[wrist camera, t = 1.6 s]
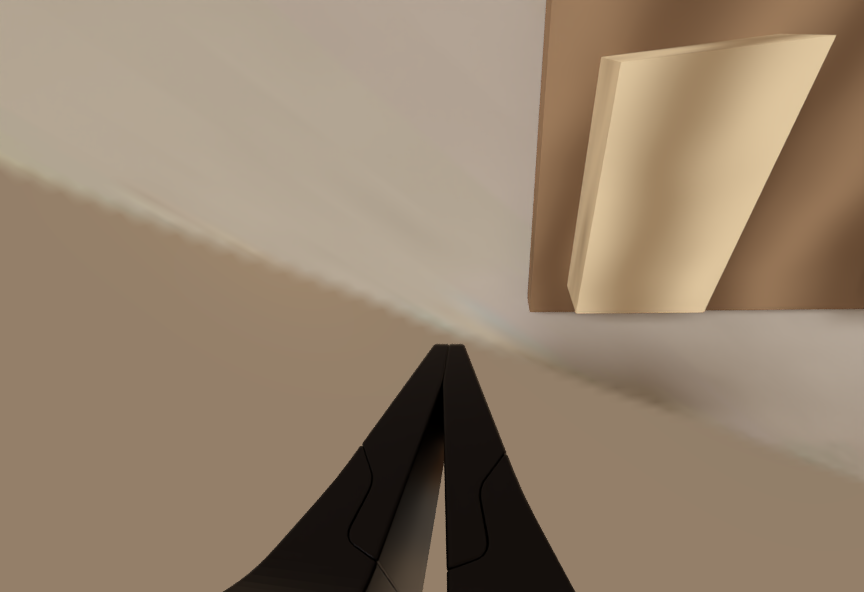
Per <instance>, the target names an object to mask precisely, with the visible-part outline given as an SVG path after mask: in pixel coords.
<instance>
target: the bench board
mask: <svg viewBox="0 0 864 592" xmlns="http://www.w3.org/2000/svg"><path fill="white" fill-rule="evenodd" d="M775 34H811V35H836V37H835V39H834V41H833V43H832V45H831V47H830V49H829V52H828V54H827V56H826V58H825V60H824V62H823V64H822V66H821V68H820V70H819V72H818V75H817V77H816V79H815V81H814V83H813V85H812V87H811V89H810V91H809V93H808V95H807V98H806V100H805V102H804V104H803V106H802V108H801V110H800V112H799V114H798V116H797V118H796V121H795V123H794V125H793V127H792V129H791V131H790V133H789V135H788V137H787V139H786V141H785V144H784V146H783V148H782V150H781V152H780V154H779V156H778V158H777V160H776V162H775V164H774V167H773V169H772V171H771V173H770V175H769V177H768V179H767V181H766V183H765V185H764V187H763V190H762V192H761V194H760V196H759V198H758V200H757V202H756V204H755V206H754V208H753V210H752V213H751V215H750V217H749V219H748V221H747V223H746V225H745V227H744V229H743V231H742V233H741V236H740V238H739V240H738V242H737V244H736V246H735V248H734V250H733V252H732V254H731V256H730V259H729V261H728V263H727V265H726V267H725V269H724V271H723V273H722V275H721V277H720V279H719V282H718V284H717V286H716V288H715V290H714V292H713V294H712V296H711V298H710V300H709V302H708V305H707V307H706V309H705V310H768V309H864V0H546V15H545V31H544V47H543V62H542V78H541V94H540V110H539V125H538V141H537V157H536V172H535V188H534V204H533V219H532V235H531V251H530V267H529V282H528V303H529V310H530V312H571V311H575V309H574V306H573V303H572V300H571V296H570V293H569V290H568V287H567V283H568V276H569V269H570V263H571V256H572V249H573V243H574V236H575V229H576V222H577V216H578V209H579V202H580V196H581V189H582V182H583V176H584V169H585V162H586V155H587V149H588V142H589V135H590V129H591V122H592V115H593V108H594V102H595V95H596V88H597V82H598V75H599V68H600V62H601V57H606V56H613V55H621V54H629V53H636V52H644V51H652V50H660V49H667V48H675V47H683V46H690V45H698V44H706V43H714V42H721V41H729V40H737V39H744V38H752V37H760V36H768V35H775Z"/></svg>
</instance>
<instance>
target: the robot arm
mask: <svg viewBox="0 0 864 592" xmlns="http://www.w3.org/2000/svg"><path fill="white" fill-rule="evenodd" d="M362 445H363V446H360V447H359V449H358V450H357V451H356V453H355V454H354V456H353V457H352V458H351V460H350V461H349V462H348V464H347V465H346V466H345V467H344V469H343V470H342V471H341V473H340V474H339V476H338V477H337V478H336V479H335V480H334V481H333V483H332V484H331V485H330V486H329V488H327V490H326V491H325V492H324V493H323V494H322V495H321V497H320V498H319V499H318V500H317V501H316V503H315V504H314V505H313V506H312V507H311V508H310V509H309V510H308V511H307V513H306V514H305V515H304V516H303V517H302V518H301V519H300V520H299V522H298V523H297V524H296V525H295V526H294V527H293V528H292V529H291V531H290V532H289V533H288V534H287V535H286V536H285V537H284V538H283V540H282V541H281V542H280V543H279V544H278V545H277V546H276V547H275V549H274V550H273V551H272V552H271V553H270V554H269V555H268V556H267V557H266V558H265V559H264V560H263V561H262V562H261V563H260V564H259V565H258V566H257V567H256V568H255V569H253V570H252V571H251V572H250V573H249V574H248V575H246V576H245V577H244V578H242V579H241V580H240V581H238V582H237V583H235V584H234V585H233V586H231V587H230V588H228V589H226V590H225V591H223V592H422V590H423V583H424V578H425V572H426V566H427V560H428V554H429V549H430V542H431V537H432V531H433V524H434V519H435V513H436V507H437V500H438V495H439V489H440V483H441V477H442V471H443V465H444V471H445V472H444V473H445V514H446V554H447V555H446V556H447V557H446V558H447V570H448V572H447V592H575V590H574V589H573V587H572V585H571V583H570V581H569V579H568V578H567V576H566V574H565V572H564V570H563V568H562V566H561V565H560V563H559V561H558V559H557V557H556V555H555V553H554V552H553V550H552V548H551V546H550V544H549V542H548V540H547V538H546V537H545V535H544V533H543V531H542V529H541V527H540V525H539V524H538V522H537V520H536V518H535V516H534V514H533V512H532V510H531V508H530V506H529V504H528V502H527V500H526V498H525V496H524V494H523V491H522V489H521V487H520V485H519V482H518V480H517V477H516V475H515V473H514V471H513V468H512V465H511V463H510V460H509V458H508V456H507V455H506V451H505V448H504V445H503V443H502V440H501V438H500V435H499V433H498V430H497V427H496V425H495V423H494V420H493V418H492V415H491V412H490V410H489V407H488V404H487V402H486V399H485V397H484V394H483V392H482V389H481V387H480V384H479V381H478V379H477V377H476V374H475V371H474V369H473V366H472V364H471V361H470V359H469V356H468V354H467V351H466V348H465V346H464V345H463V344H450V345H448V344H435V345H434V346H433V347H432V348H431V350H430V351H429V353H428V354H427V355H426V357H425V358H424V359H423V361H422V362H421V364H420V365H419V366H418V368H417V369H416V370H415V372H414V373H413V375H412V376H411V378H410V379H409V380H408V381H407V383H406V384H405V386H404V387H403V388H402V390H401V391H400V392H399V394H398V395H397V397H396V398H395V399H394V401H393V402H392V404H391V405H390V406H389V408H388V409H387V410H386V412H385V413H384V415H383V416H382V417H381V419H380V420H379V421H378V423H377V424H376V425H375V427H374V428H373V430H372V431H371V432H370V434H369V435H368V436H367V438H366V439H365V441H364V442H363V444H362Z"/></svg>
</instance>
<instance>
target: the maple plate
mask: <svg viewBox="0 0 864 592" xmlns="http://www.w3.org/2000/svg"><path fill="white" fill-rule="evenodd" d="M835 37H836V35H811V34H775V35H768V36H760V37H752V38H744V39H737V40H729V41H721V42H714V43H706V44H698V45H690V46H683V47H675V48H667V49H660V50H652V51H644V52H636V53H629V54H621V55H613V56H606V57H601V62H600V68H599V75H598V82H597V88H596V95H595V102H594V108H593V115H592V122H591V129H590V135H589V142H588V149H587V155H586V162H585V169H584V176H583V182H582V189H581V196H580V202H579V209H578V216H577V222H576V229H575V236H574V243H573V249H572V256H571V263H570V269H569V276H568V283H567V287H568V290H569V293H570V296H571V300H572V303H573V306H574V309H575V312H576V314H585V313H695V312H704V311H705V309H706V307H707V305H708V302H709V300H710V298H711V296H712V294H713V292H714V290H715V288H716V286H717V284H718V282H719V279H720V277H721V275H722V273H723V271H724V269H725V267H726V265H727V263H728V261H729V259H730V256H731V254H732V252H733V250H734V248H735V246H736V244H737V242H738V240H739V238H740V236H741V233H742V231H743V229H744V227H745V225H746V223H747V221H748V219H749V217H750V215H751V213H752V210H753V208H754V206H755V204H756V202H757V200H758V198H759V196H760V194H761V192H762V190H763V187H764V185H765V183H766V181H767V179H768V177H769V175H770V173H771V171H772V169H773V167H774V164H775V162H776V160H777V158H778V156H779V154H780V152H781V150H782V148H783V146H784V144H785V141H786V139H787V137H788V135H789V133H790V131H791V129H792V127H793V125H794V123H795V121H796V118H797V116H798V114H799V112H800V110H801V108H802V106H803V104H804V102H805V100H806V98H807V95H808V93H809V91H810V89H811V87H812V85H813V83H814V81H815V79H816V77H817V75H818V72H819V70H820V68H821V66H822V64H823V62H824V60H825V58H826V56H827V54H828V52H829V49H830V47H831V45H832V43H833V41H834V39H835Z"/></svg>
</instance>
